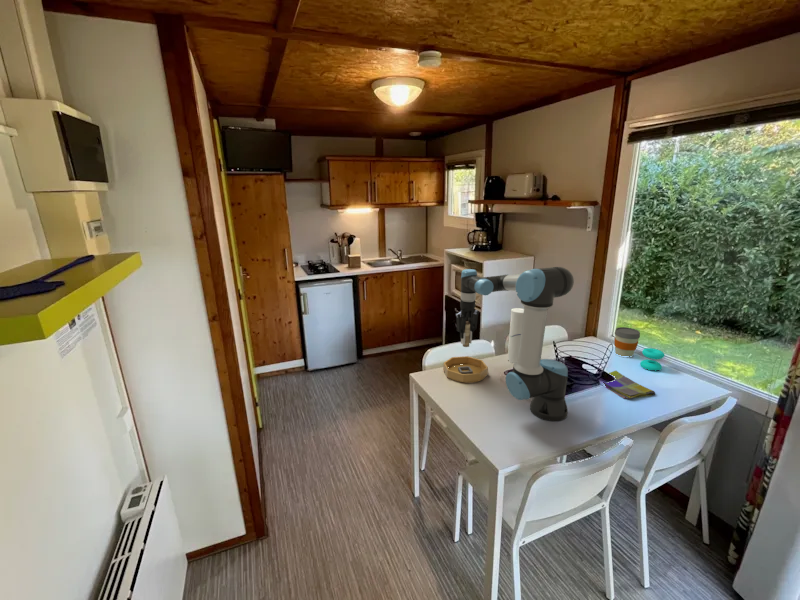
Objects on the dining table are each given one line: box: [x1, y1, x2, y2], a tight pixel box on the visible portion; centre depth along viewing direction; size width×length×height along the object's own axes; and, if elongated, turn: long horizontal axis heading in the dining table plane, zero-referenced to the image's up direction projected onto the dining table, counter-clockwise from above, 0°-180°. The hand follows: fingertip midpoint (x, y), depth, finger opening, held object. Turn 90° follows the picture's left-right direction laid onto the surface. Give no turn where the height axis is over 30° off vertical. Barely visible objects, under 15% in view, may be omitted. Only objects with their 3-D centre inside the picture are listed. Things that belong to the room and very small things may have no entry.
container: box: [507, 307, 524, 364], centre depth 210 cm, size 9×9×30 cm
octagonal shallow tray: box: [442, 355, 489, 384], centre depth 199 cm, size 22×22×5 cm
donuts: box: [639, 347, 665, 372], centre depth 202 cm, size 10×10×10 cm
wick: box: [462, 320, 470, 348], centre depth 194 cm, size 3×3×13 cm
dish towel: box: [603, 370, 656, 400], centre depth 184 cm, size 18×24×3 cm
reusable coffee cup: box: [613, 326, 641, 356], centre depth 218 cm, size 13×13×15 cm
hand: (466, 343), depth 195 cm, fingers closed on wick, 3 cm apart
